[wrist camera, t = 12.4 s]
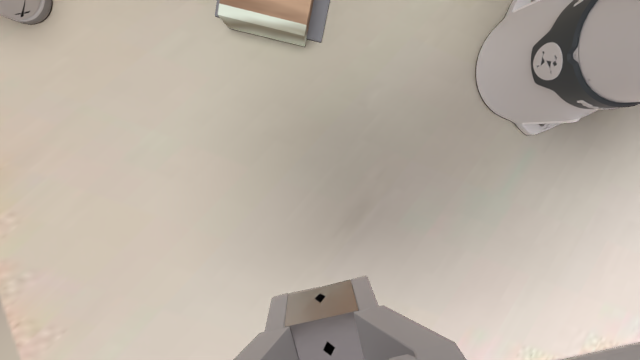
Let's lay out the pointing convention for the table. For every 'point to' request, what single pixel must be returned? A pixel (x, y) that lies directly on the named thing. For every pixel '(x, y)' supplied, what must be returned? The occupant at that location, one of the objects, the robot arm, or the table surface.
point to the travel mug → (25, 10)
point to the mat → (311, 19)
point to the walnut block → (269, 18)
